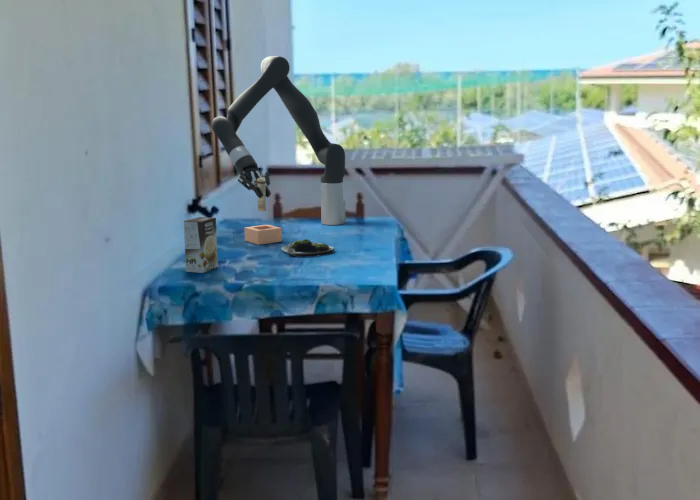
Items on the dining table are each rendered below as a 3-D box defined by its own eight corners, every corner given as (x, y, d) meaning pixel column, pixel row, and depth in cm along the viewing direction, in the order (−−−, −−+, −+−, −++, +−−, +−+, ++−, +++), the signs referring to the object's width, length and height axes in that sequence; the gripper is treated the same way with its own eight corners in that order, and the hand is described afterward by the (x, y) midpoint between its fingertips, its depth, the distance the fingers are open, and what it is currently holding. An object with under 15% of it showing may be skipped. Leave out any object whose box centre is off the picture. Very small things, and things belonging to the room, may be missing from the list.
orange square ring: (268, 237, 300) (267, 224, 299) (281, 241, 292) (281, 228, 292) (244, 240, 295) (244, 227, 294) (258, 244, 287) (257, 231, 286)
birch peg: (263, 209, 293) (262, 177, 291) (268, 210, 291) (267, 178, 289) (256, 210, 292) (255, 178, 289) (260, 211, 289) (259, 178, 287)
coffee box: (203, 273, 243) (200, 222, 240) (185, 272, 245) (182, 220, 242) (218, 267, 251) (216, 217, 248) (201, 265, 253) (198, 216, 250)
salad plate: (269, 250, 279) (269, 237, 278) (315, 244, 287) (314, 232, 286) (292, 260, 262) (292, 246, 261) (340, 254, 270) (339, 240, 270)
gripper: (232, 155, 287) (255, 191, 281) (262, 153, 297) (284, 187, 291) (223, 169, 292) (246, 205, 286) (253, 166, 302) (275, 200, 296)
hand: (265, 196), depth 289 cm, fingers closed on birch peg, 3 cm apart
